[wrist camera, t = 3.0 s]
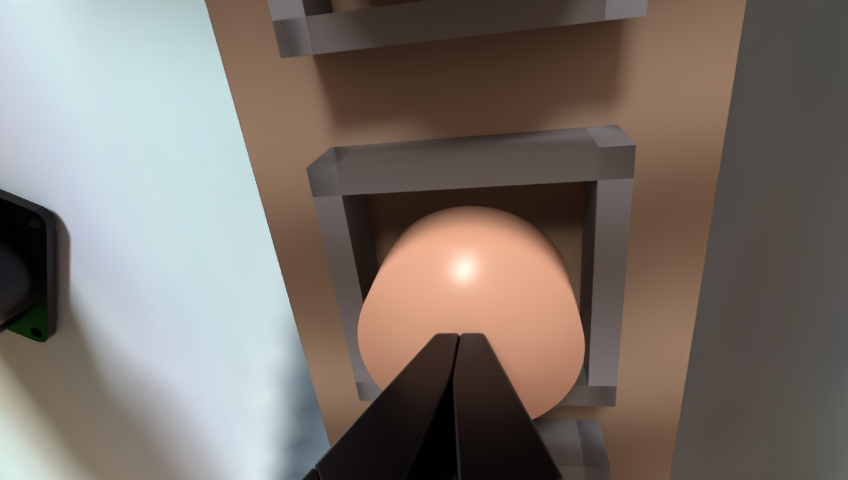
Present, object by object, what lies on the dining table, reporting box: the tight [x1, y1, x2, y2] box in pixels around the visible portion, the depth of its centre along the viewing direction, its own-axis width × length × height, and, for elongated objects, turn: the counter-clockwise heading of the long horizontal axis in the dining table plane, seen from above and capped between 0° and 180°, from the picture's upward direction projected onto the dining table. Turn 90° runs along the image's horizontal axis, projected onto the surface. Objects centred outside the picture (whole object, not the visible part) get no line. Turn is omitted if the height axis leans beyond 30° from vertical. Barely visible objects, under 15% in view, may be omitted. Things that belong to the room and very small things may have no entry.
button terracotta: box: [358, 206, 585, 419], centre depth 9 cm, size 4×4×2 cm
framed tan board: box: [205, 0, 746, 480], centre depth 12 cm, size 26×10×6 cm, turn 7°
